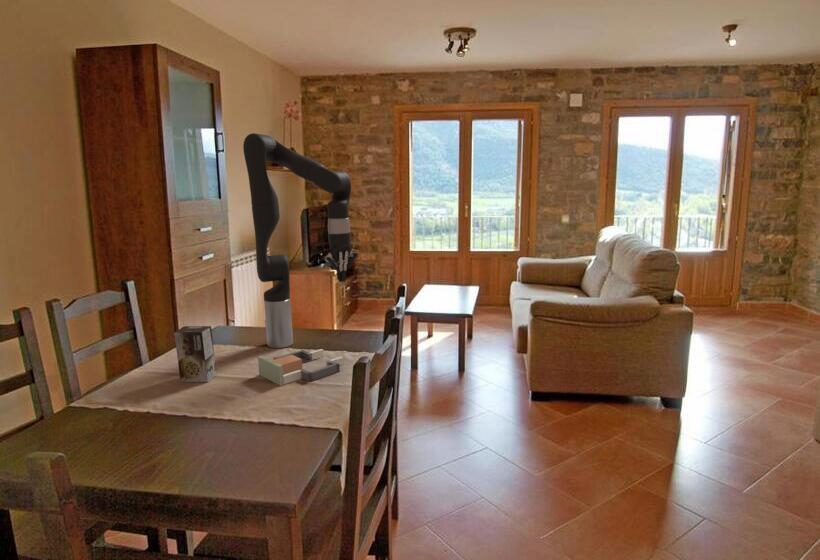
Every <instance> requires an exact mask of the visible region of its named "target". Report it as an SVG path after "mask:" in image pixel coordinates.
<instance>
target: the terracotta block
mask: <svg viewBox="0 0 820 560" xmlns="http://www.w3.org/2000/svg"><path fill="white" fill-rule="evenodd" d="M270 360H271V361H274V362H276V363H278V364H280V365H283V375H285V374H288V373H291V372H294V371H297V370H300V369H303V363H302V359H300V358H298V357H296V356H294V355H289V356H285V357H282V358H278V359H270Z"/></svg>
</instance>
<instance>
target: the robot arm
mask: <svg viewBox="0 0 820 560" xmlns="http://www.w3.org/2000/svg"><path fill="white" fill-rule="evenodd" d="M242 147H243V148H242V151H243V155H244V161H245V166H246V170H247V171H246V172H247V176H248V182H249V190H250V201H251V211H252V220H253V226H254V227H253V228H254V233H255V235H254V237H255V253H256V254H255V256H256V272H257V277H258V279H259V281H260V282H261V283H269V282H276V284H274V286H272V287H270V288H269V289H266V290H265V291H264V292H263V303H264V304H263V305H264V316H265V319H264V324H265V327H264V328H265V337H266V344H267V347H269V348H272V349H282V348H287V347H290V346H292V345H293V344H294V337H293V322H292V321H293V320H292V307H291V306H292V305H291V285H290V281H291V279H290V278H291V277H290V262H289V259H288V256H287V255H285V254H273V255H272V254H271V255H268V246H269V243H270V240H271V237H272V236H273V233H274V231H275V230H276V228H277V225H278V224H279V221H280V214H281V213H280V206H279V205H280V204H279V199H278V196H277V193H276V191H275V188H274V187H273V185H272V183H271V180H270V179H269V175H268V172H267V162H269V163H274V164H277V165H280V166H281V167H282V166H283V167H284V168H287V169H288V170H289V171H290V172H291V173H293V174H294V175H296V176H297V177H299V178H301V179H303V180H305V181H308V182H310V183H313V184H314V185H315V186H316V187H318V188H320V189H321V190H323V191H324V192H327V193H330V194H332V195H331V196H332V197H331V200H330V201H328V203H327V234H328V235H327V238H328V239H327V240H328V245H329V250H328V254H327V255H326V256H323V260H324V261H325V263H326V264H327V265H328V267H330V268H331V270H332V271H336V279H337V281H338V282H340V283H342V282H344V283H345V282H346V280H347V270H348V269H351V266H352V265H353V263H354V261H355V260H356V258H357V255H358V254H357V252H354V251H353V250H352V247H351V244H352V237H351V222H350V216H349V215H350V213H349V211H350V209H349V203H350V200H351V199H350V198H351V192H352V183H351V182H352V180H351V177H350V176H349V175H348V173H347V172H345V171H340V170H339V171H333V170H330V169H328V168H326V167H325V165H324V164H322V163H321V162H318V161H316V160H314V159H311V158H309V157H307V156H305V155H302V154H299V153H297V152H296V151H294V150H292V149H289V147H286V146H284V145H283V144H282V143H281V142H279V141H277V140H276V139H274V137H272V136H270V135H267V134H261V133H249V134H247V136H245V138H244V141H243V145H242Z"/></svg>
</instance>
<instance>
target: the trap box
mask: <svg viewBox="0 0 820 560" xmlns="http://www.w3.org/2000/svg"><path fill="white" fill-rule="evenodd" d="M324 351H325V350H324V349H323V348H320V349H316V350H312V351H310V352H309V351H307V350H305V349H301V350H297V351H294V352H291V353H287V354H284V355H280V356H278V357H274V358H273V359H269V358H267V357H265V356H263V355H260V356H257V364H258V374H259V376H260V377H262V378H264V379H267V380H268V381H270V382H272V383H275V384H277V385H278V386H281V387H282V386H284V385H286V384H289V383H292V382H295V381H299V380H304V381H306V382H308V381H309V382H308V383H310V381H311V382H313V381H317V380H319V379H322V378H324V377H328V376H330V375H334V374H337V373H340V369H341V368H340V367H341V366H343V365H344V364H345V360H344V356H342V355H341V356H337V357H335V358H332V359H329V360H327V361H326V366H324V367H321V368H318V369H314V370H312V371H308V370H306V369H304V368H302V369H300V370H297V371H294V372H291V373H288V374H285V375H283V365H280V364H278V363H276V362H274V361H271V360H274V359H278V358H282V357H285V356H289V355H294V356H296V357H298V358H300V359H302V364H305V363H308V362H311V361H314V359H315V360H317V359H320V358H324V357H325V353H324Z"/></svg>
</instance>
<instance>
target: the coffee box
mask: <svg viewBox="0 0 820 560" xmlns="http://www.w3.org/2000/svg"><path fill="white" fill-rule="evenodd" d="M212 332H213V331H212V326H210V325H193V326H189V325H187V326H182V327H181V328H179V329H178V330H176V331H174V332H173V335H174V341H175V342H174V344H175V349H176V356H177V364H178V372H179V378H180V379H179V380H180V382H181V383H209V382H210V381H211V380H212V379H214V378H215V377H216V376H217V367H216V360H215V359H216V358H215V349H214V342H213V341H214V340H213V333H212Z"/></svg>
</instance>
